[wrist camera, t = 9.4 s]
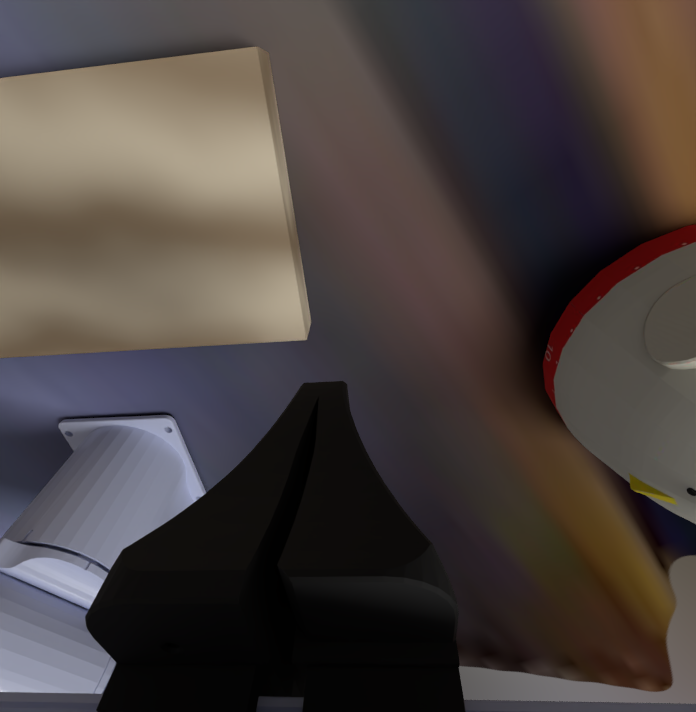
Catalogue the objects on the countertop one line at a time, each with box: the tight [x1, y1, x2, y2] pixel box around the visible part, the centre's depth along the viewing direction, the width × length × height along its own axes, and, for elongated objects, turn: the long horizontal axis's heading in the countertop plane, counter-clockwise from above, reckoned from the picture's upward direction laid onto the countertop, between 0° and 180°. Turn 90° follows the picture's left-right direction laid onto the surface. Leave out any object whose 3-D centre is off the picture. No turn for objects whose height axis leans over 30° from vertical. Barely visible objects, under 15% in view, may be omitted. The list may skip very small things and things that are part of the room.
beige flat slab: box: [0, 47, 311, 358], centre depth 19 cm, size 12×20×2 cm, turn 95°
